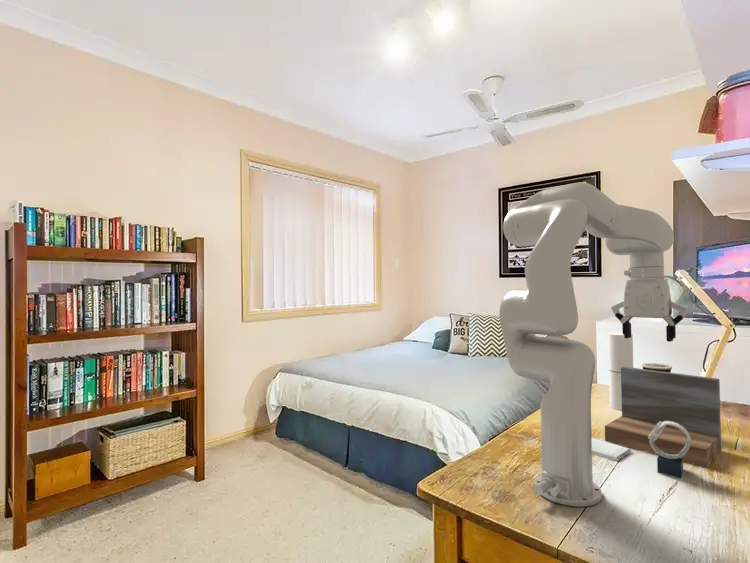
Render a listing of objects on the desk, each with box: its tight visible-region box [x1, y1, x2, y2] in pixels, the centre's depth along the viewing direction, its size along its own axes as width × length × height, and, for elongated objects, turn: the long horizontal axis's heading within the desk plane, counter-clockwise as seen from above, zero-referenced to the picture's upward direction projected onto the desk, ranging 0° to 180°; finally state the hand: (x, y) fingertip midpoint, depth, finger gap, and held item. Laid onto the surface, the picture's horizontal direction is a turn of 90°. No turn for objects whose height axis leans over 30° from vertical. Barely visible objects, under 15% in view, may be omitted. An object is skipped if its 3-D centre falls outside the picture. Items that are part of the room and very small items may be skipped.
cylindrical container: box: [607, 331, 634, 412], centre depth 141 cm, size 7×7×25 cm
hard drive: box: [592, 437, 632, 462], centre depth 108 cm, size 2×8×12 cm
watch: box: [648, 421, 691, 479], centre depth 95 cm, size 6×8×11 cm
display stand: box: [604, 367, 722, 468], centre depth 109 cm, size 14×22×18 cm, turn 40°
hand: (648, 339), depth 110 cm, fingers open, 9 cm apart
